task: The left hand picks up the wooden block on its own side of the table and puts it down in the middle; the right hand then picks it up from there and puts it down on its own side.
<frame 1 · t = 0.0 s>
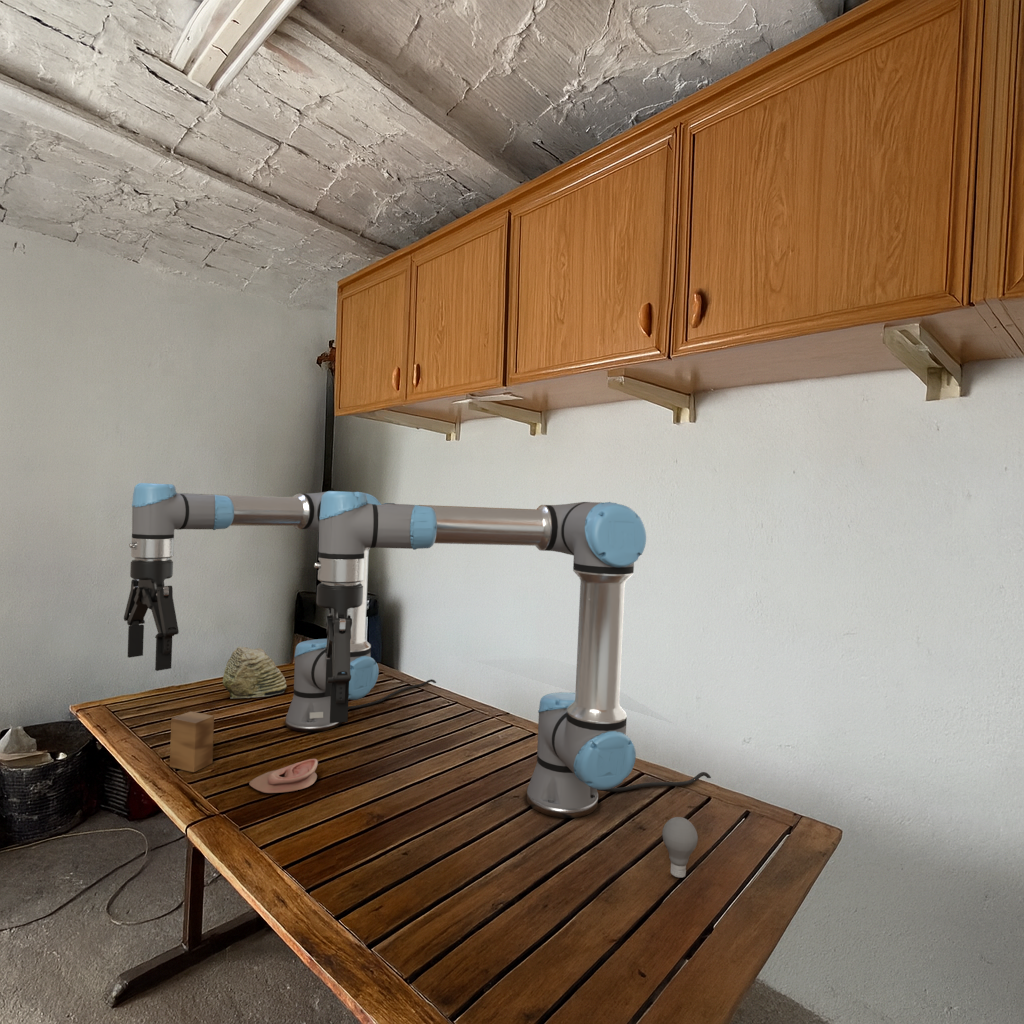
left hand: (148, 662, 129), 28 cm above the table, tool pointing down, fingers open, 13 cm apart
right hand: (335, 708, 107), 28 cm above the table, tool pointing down, fingers open, 13 cm apart
fossil: (254, 694, 198), on the table
block: (191, 765, 146), on the table
anatomical model: (283, 783, 139), on the table
light bulb: (677, 876, 110), on the table
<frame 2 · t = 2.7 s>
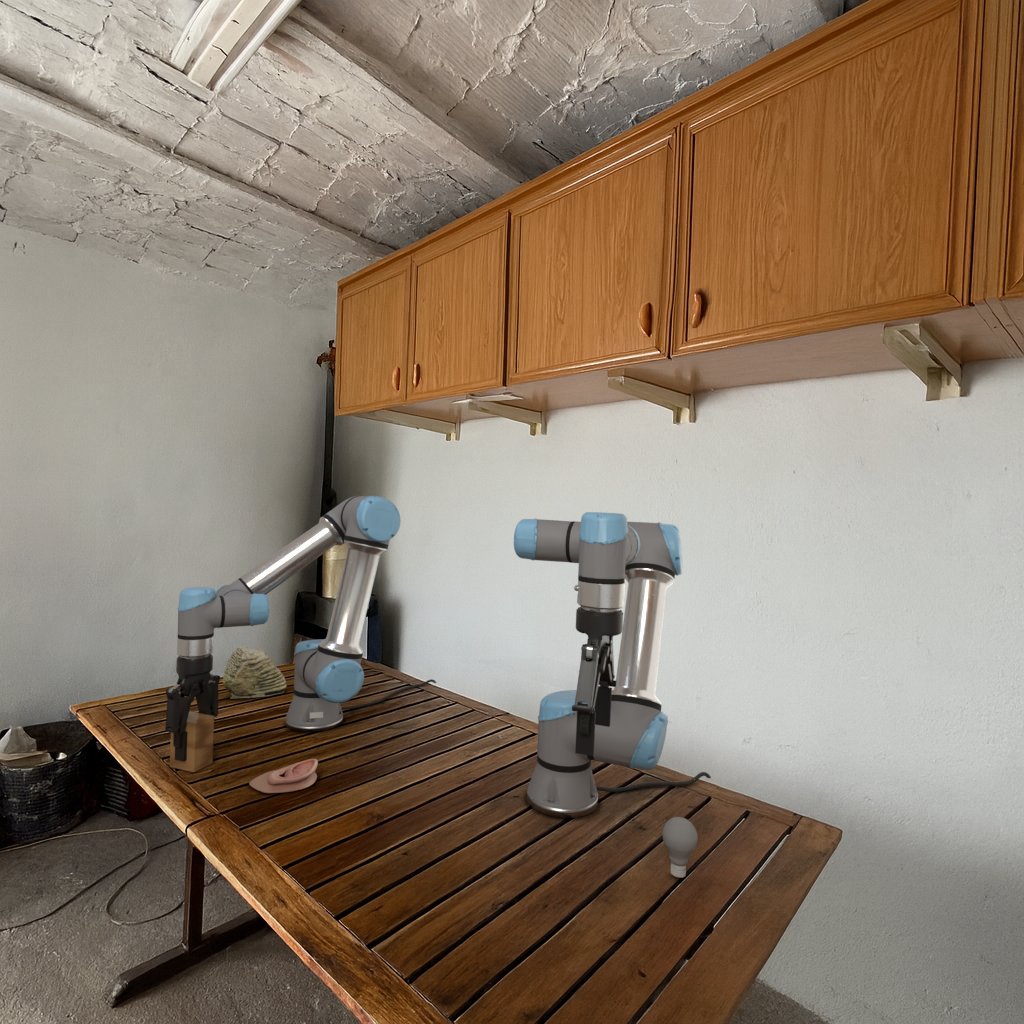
left hand: (191, 754, 146), 2 cm above the table, tool pointing down, fingers closed on block, 5 cm apart
right hand: (593, 738, 102), 26 cm above the table, tool pointing down, fingers open, 13 cm apart
block: (191, 765, 146), on the table, touching left hand
everything else where it was.
when the left hand's fingers open (4 cm above the table, at t = 8.2 s): block drops 1 cm, on the table.
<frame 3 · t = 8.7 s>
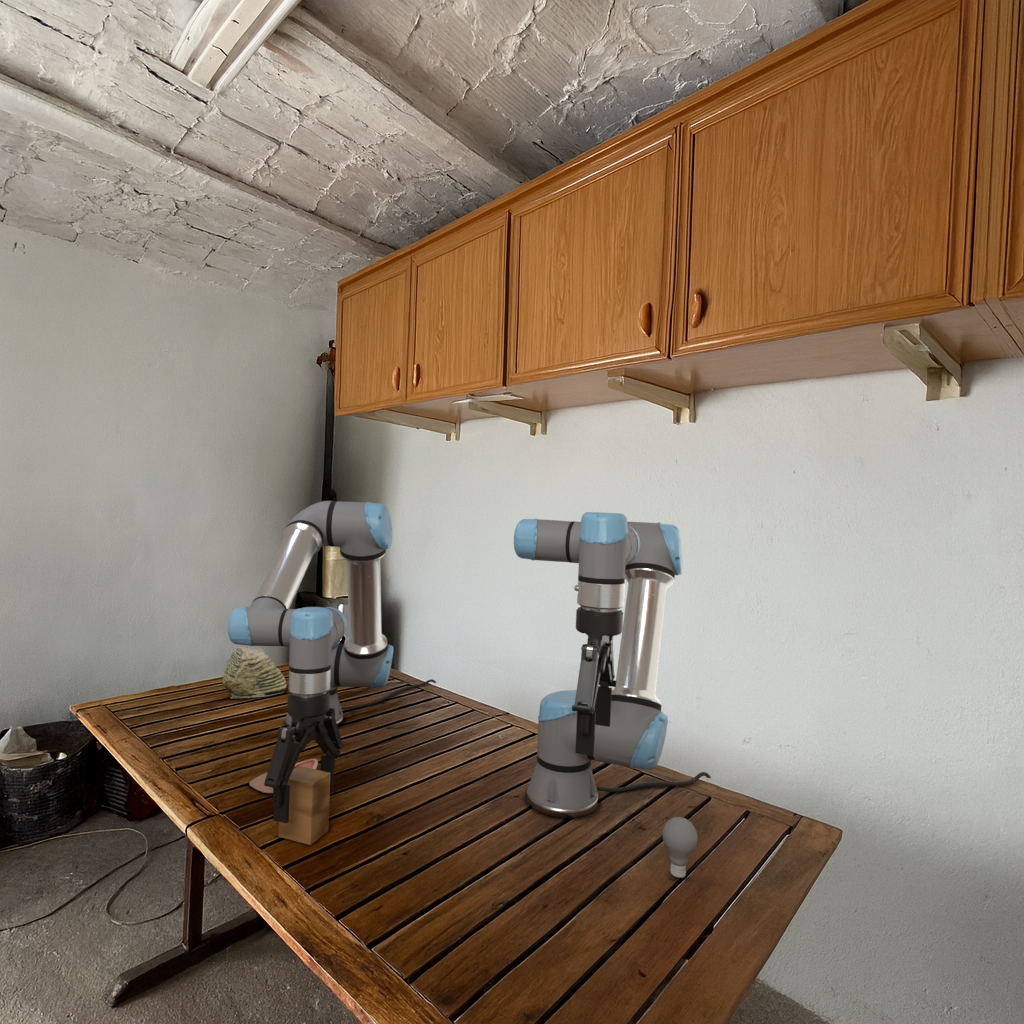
left hand: (304, 804, 119), 6 cm above the table, tool pointing down, fingers open, 13 cm apart
right hand: (593, 738, 102), 26 cm above the table, tool pointing down, fingers open, 13 cm apart
block: (303, 833, 119), on the table
everything else where it was.
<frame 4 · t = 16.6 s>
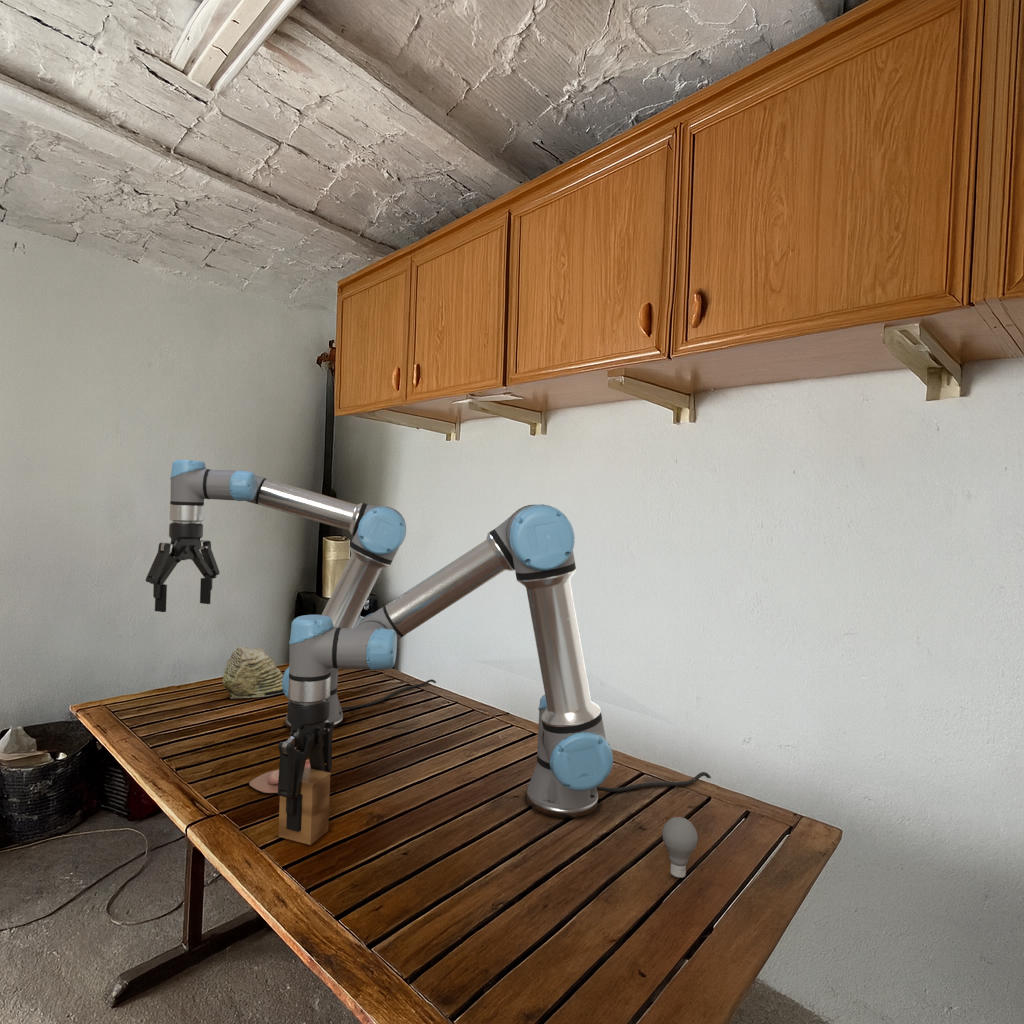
left hand: (183, 607, 158), 34 cm above the table, tool pointing down, fingers open, 13 cm apart
right hand: (304, 821, 119), 2 cm above the table, tool pointing down, fingers closed on block, 5 cm apart
block: (303, 833, 119), on the table, touching right hand
everything else where it was.
when the right hand's fingers open (4 cm above the table, at t = 23.3 s): block drops 1 cm, on the table.
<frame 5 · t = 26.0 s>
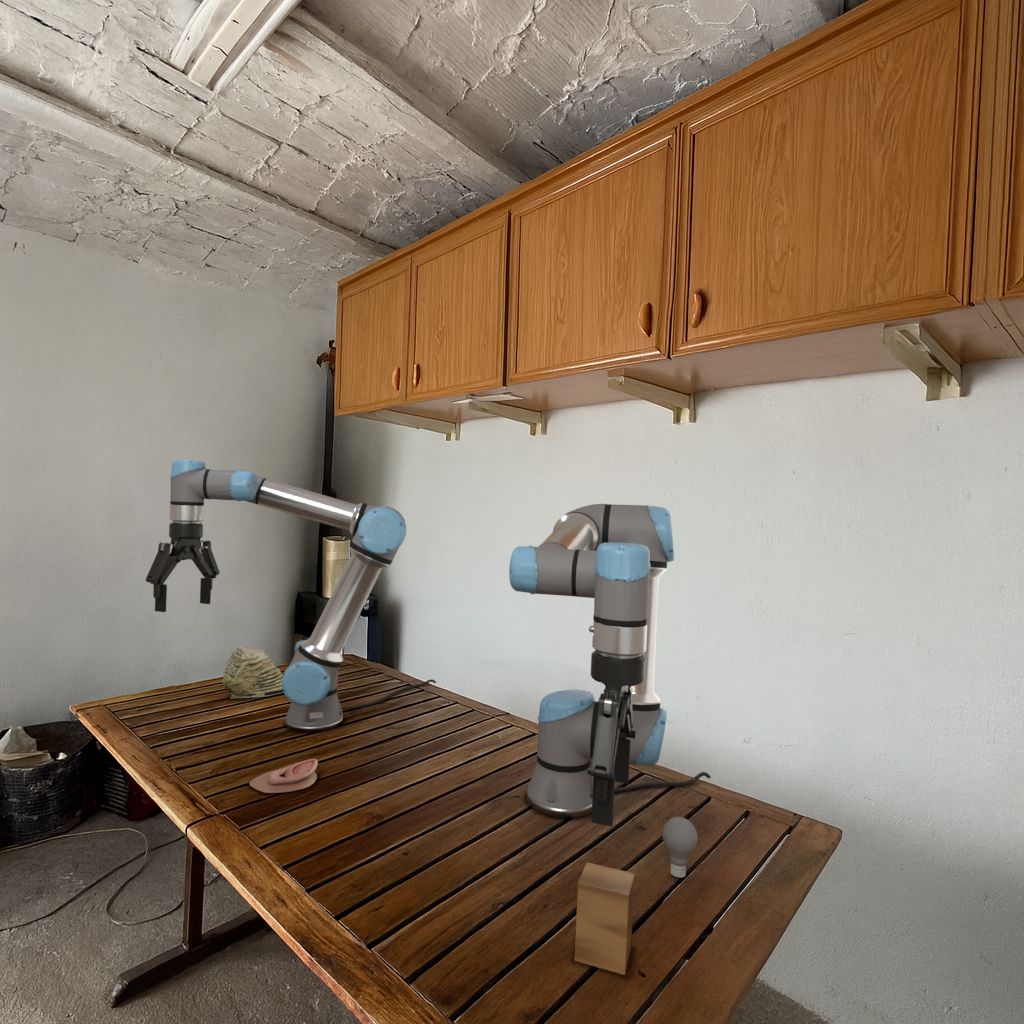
left hand: (183, 607, 158), 34 cm above the table, tool pointing down, fingers open, 13 cm apart
right hand: (611, 801, 90), 22 cm above the table, tool pointing down, fingers open, 13 cm apart
block: (603, 954, 91), on the table
everything else where it was.
at the end: block inside the target area (0.2 cm from its centre), on the table; block tilted 0°; the two hands never held the block at the same time; the left hand is holding nothing; the right hand is holding nothing; block at rest at the end (0.0 cm/s) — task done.
